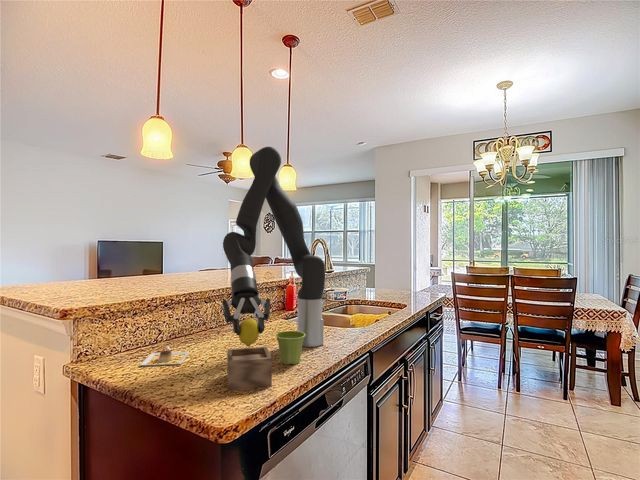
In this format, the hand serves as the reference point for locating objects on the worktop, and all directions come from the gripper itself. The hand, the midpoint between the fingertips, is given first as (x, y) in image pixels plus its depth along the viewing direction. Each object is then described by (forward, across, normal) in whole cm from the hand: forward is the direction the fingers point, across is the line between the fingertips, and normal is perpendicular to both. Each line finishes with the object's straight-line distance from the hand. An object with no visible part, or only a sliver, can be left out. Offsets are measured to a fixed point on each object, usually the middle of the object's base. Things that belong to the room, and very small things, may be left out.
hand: (249, 332), depth 93 cm
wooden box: (+8, 0, +11) cm, 14 cm away
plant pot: (+1, +15, +18) cm, 24 cm away
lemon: (+2, 0, +4) cm, 5 cm away
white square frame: (-9, -22, +30) cm, 38 cm away
